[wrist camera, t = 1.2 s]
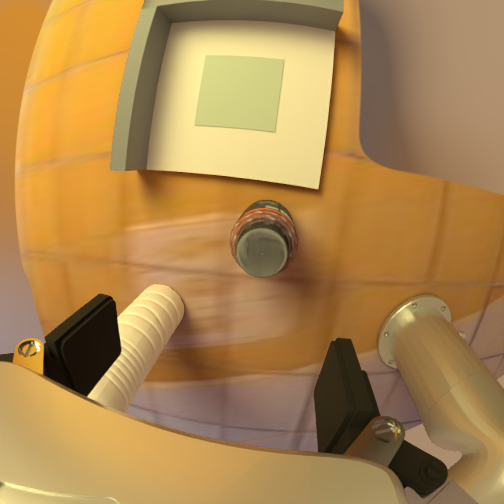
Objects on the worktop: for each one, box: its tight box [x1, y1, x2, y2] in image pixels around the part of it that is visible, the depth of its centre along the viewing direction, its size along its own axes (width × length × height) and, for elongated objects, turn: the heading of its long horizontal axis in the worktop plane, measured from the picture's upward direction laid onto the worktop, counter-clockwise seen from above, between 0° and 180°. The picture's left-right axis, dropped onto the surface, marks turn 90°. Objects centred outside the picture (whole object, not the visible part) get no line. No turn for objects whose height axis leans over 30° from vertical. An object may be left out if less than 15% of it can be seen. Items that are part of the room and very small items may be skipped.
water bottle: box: [87, 284, 184, 413], centre depth 24 cm, size 9×6×25 cm
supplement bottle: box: [230, 200, 297, 278], centre depth 26 cm, size 6×6×11 cm
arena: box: [110, 0, 343, 189], centre depth 24 cm, size 22×22×6 cm
